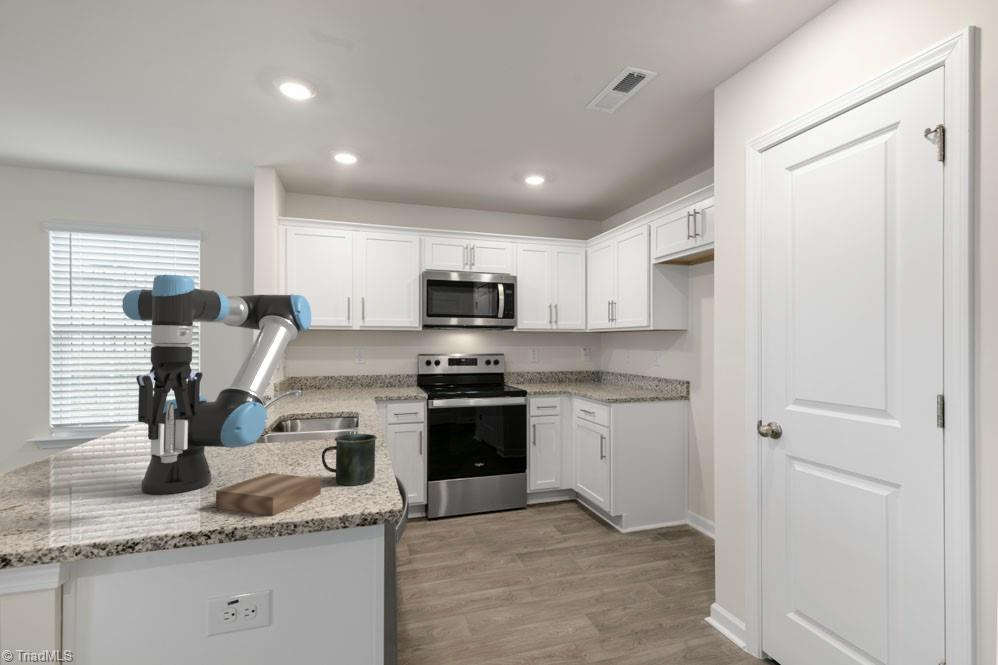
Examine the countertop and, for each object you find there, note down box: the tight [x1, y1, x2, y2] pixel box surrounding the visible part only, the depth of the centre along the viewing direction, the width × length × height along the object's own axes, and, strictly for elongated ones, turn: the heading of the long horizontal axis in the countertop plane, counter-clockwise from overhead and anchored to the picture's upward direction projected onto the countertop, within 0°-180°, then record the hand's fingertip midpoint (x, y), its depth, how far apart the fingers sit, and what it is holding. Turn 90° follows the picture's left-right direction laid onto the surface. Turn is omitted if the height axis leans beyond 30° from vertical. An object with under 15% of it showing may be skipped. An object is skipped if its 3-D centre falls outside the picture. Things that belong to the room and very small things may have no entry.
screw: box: [156, 402, 183, 463], centre depth 102 cm, size 13×5×5 cm
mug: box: [321, 433, 378, 486], centre depth 129 cm, size 11×15×12 cm
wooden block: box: [215, 472, 322, 517], centre depth 112 cm, size 16×16×4 cm
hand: (169, 451), depth 102 cm, fingers closed on screw, 5 cm apart
